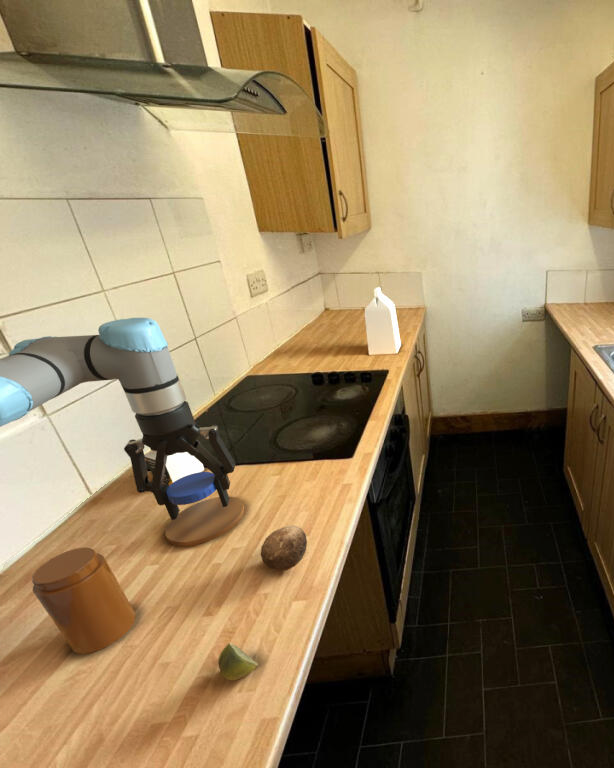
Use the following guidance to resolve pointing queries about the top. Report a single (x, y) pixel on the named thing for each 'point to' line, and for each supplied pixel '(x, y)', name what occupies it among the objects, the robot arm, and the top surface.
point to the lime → (235, 663)
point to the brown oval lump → (284, 548)
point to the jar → (83, 599)
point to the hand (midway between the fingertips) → (201, 508)
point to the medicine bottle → (175, 465)
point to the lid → (191, 488)
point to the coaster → (204, 521)
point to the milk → (382, 325)
